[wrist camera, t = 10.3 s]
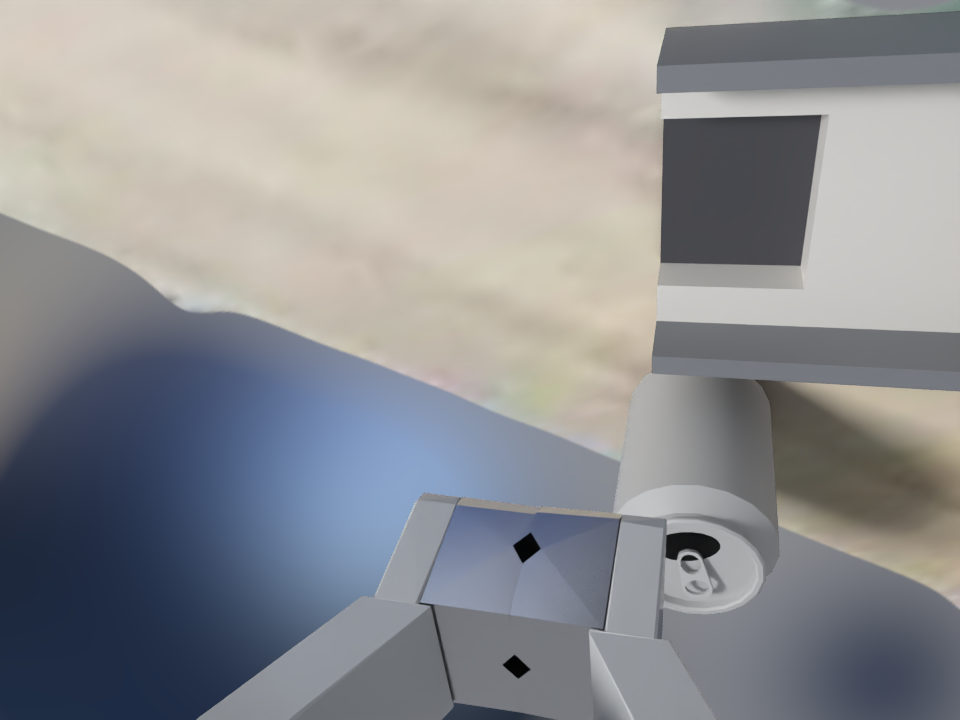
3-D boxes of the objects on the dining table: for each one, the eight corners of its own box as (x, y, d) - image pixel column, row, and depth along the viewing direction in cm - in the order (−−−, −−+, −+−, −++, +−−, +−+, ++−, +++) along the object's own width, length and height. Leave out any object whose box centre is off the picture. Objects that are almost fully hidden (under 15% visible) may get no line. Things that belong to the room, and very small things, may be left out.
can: (755, 336, 40) (763, 505, 31) (782, 444, 44) (796, 625, 35) (614, 361, 44) (584, 521, 34) (650, 460, 47) (631, 629, 38)
